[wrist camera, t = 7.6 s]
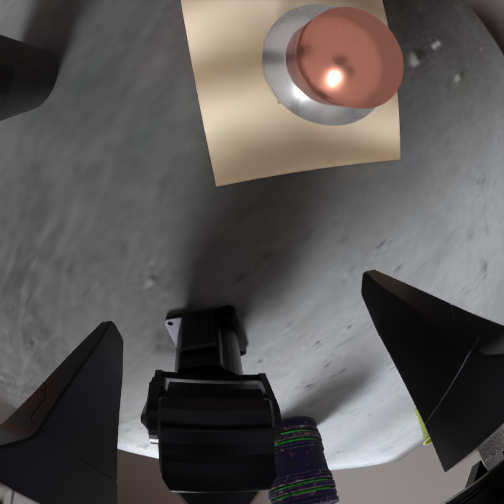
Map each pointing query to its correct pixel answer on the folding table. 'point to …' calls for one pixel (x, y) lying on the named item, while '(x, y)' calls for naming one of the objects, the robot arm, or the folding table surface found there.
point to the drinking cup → (24, 77)
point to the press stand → (270, 98)
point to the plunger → (331, 63)
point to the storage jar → (301, 466)
